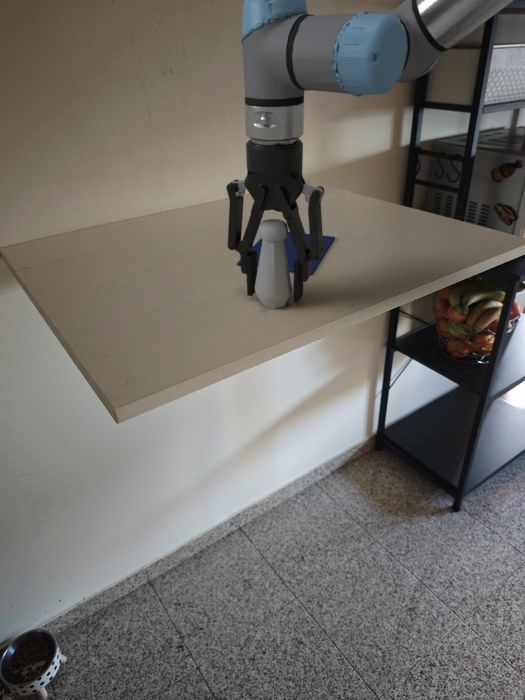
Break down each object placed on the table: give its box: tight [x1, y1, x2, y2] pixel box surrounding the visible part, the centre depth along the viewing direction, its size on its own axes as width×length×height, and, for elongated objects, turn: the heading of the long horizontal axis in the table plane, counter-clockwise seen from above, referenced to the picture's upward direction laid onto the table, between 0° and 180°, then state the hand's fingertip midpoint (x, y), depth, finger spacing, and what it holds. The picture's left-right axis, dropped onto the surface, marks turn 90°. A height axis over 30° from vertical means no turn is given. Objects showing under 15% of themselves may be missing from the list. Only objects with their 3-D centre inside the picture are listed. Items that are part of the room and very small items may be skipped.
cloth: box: [236, 231, 336, 276], centre depth 95 cm, size 14×18×1 cm
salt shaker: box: [254, 218, 293, 310], centre depth 75 cm, size 6×6×13 cm
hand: (275, 295), depth 78 cm, fingers open, 7 cm apart
